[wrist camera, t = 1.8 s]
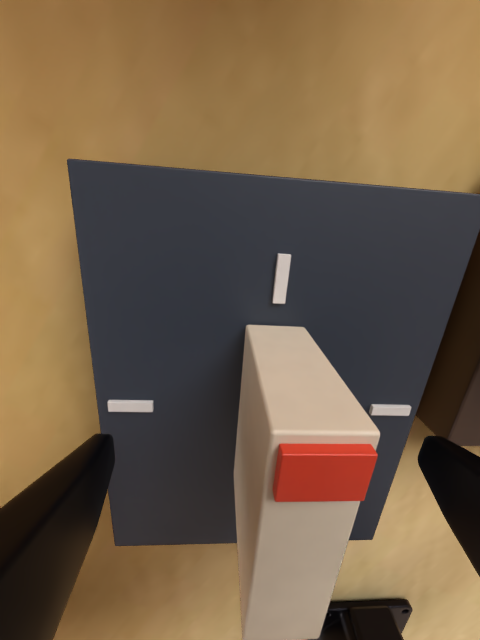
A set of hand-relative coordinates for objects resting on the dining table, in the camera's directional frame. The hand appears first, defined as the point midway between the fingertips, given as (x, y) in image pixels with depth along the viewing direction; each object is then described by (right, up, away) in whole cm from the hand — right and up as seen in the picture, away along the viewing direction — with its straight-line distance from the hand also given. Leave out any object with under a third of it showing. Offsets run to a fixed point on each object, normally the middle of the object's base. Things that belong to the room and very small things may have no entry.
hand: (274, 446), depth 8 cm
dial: (0, +1, +1) cm, 2 cm away
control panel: (0, +2, +4) cm, 5 cm away
